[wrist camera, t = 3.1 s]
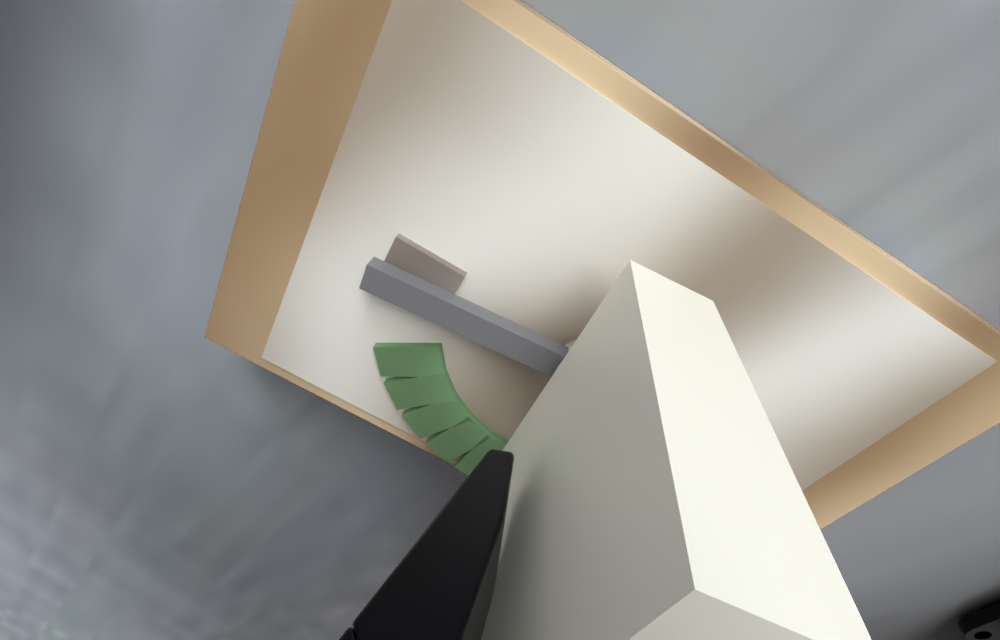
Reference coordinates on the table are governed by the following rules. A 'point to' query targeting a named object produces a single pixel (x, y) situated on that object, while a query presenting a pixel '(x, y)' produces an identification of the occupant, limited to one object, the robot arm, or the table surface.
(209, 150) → the table surface
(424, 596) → the robot arm
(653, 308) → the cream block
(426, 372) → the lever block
